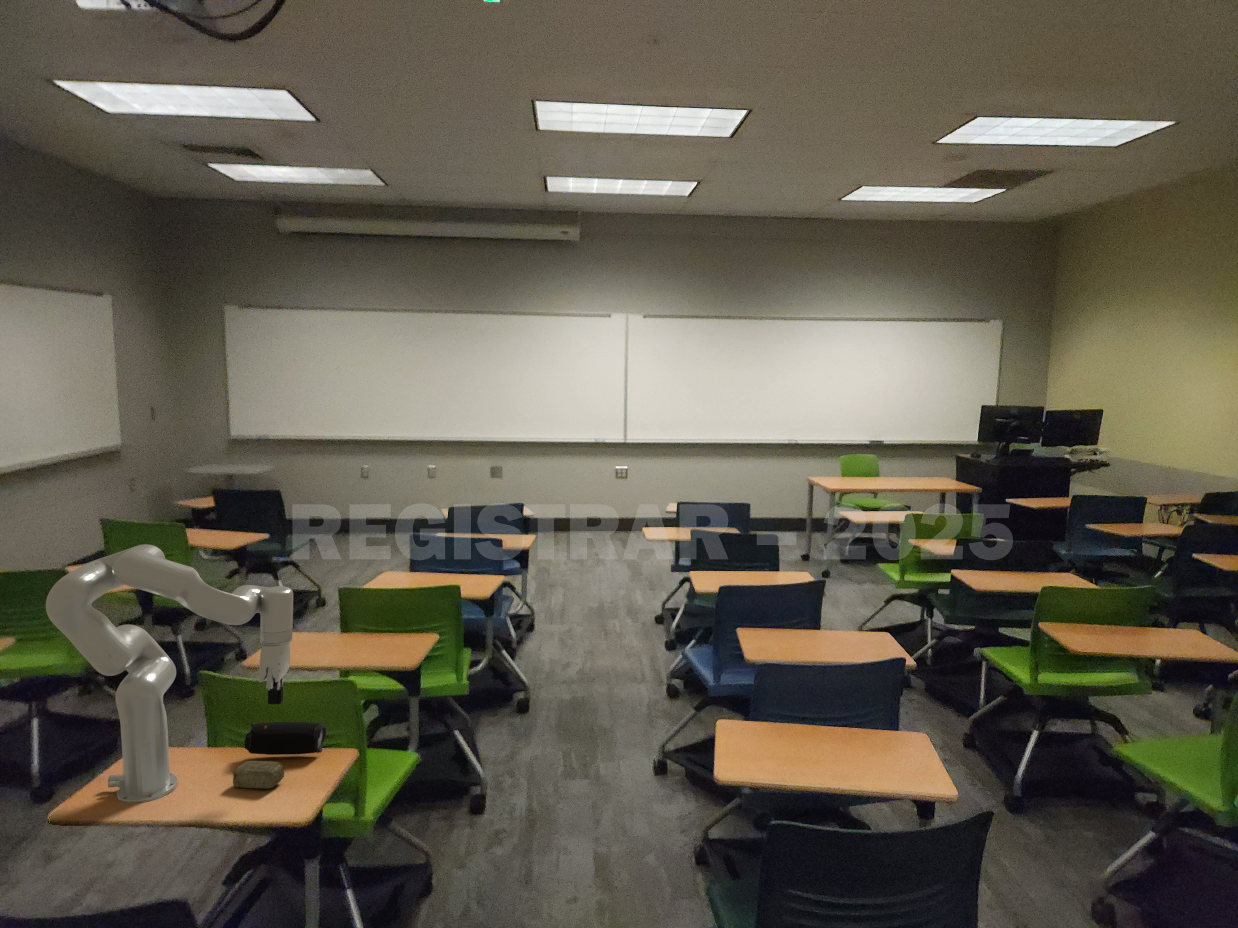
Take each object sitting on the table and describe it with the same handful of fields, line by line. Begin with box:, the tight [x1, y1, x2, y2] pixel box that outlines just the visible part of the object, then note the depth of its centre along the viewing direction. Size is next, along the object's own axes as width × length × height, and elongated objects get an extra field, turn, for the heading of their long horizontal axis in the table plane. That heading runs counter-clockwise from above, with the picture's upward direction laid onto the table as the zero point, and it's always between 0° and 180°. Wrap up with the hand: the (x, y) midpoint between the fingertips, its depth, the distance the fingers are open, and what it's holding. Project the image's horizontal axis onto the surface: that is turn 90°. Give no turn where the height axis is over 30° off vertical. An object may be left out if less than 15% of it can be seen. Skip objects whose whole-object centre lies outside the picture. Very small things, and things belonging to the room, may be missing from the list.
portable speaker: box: [243, 721, 328, 756], centre depth 195 cm, size 9×9×20 cm
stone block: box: [232, 760, 285, 789], centre depth 179 cm, size 6×12×5 cm, turn 83°
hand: (275, 702), depth 181 cm, fingers closed
